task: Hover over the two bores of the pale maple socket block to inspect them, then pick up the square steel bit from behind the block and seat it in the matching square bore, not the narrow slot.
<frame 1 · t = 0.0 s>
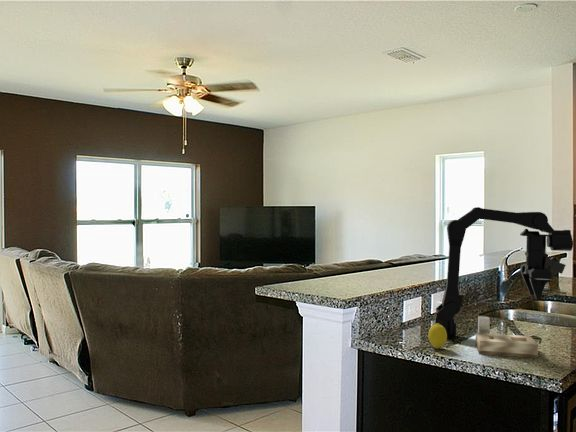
hand: (535, 297, 165), 15 cm above the table, fingers open, 9 cm apart
lemon: (437, 349, 155), on the table
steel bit: (483, 341, 164), on the table
socket block: (505, 351, 153), on the table
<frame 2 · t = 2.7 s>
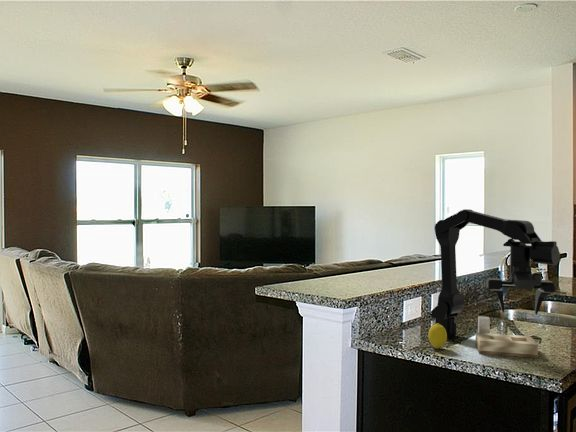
hand: (519, 313, 152), 12 cm above the table, fingers open, 9 cm apart
nothing on the table moved.
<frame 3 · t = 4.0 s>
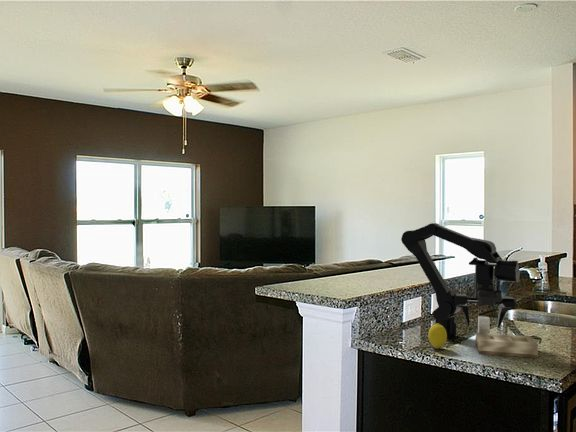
hand: (483, 326, 164), 5 cm above the table, fingers open, 9 cm apart
nothing on the table moved.
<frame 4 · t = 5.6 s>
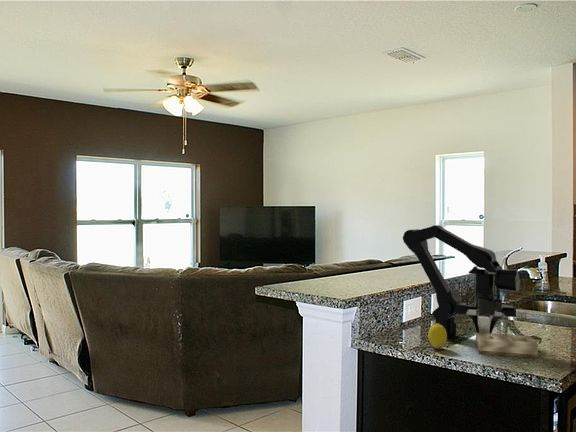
hand: (483, 335, 164), 2 cm above the table, fingers closed on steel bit, 3 cm apart
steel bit: (483, 341, 164), on the table, touching gripper
everything else where it was.
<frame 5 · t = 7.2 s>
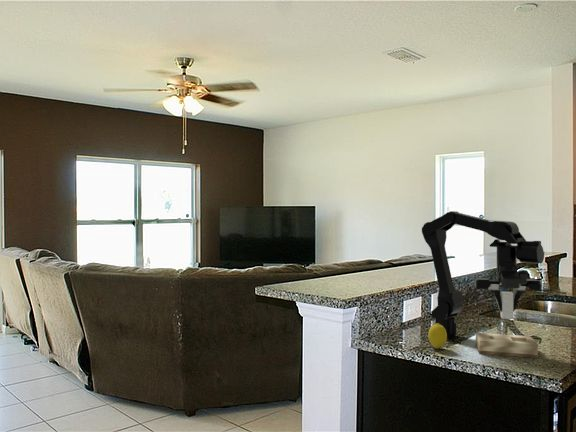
hand: (507, 311, 156), 12 cm above the table, fingers closed on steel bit, 3 cm apart
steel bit: (506, 318, 156), point 10 cm above the table, touching gripper
everything else where it was.
when the fingers open (5 cm above the table, at t = 9.3 s): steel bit drops 2 cm, resting on socket block.
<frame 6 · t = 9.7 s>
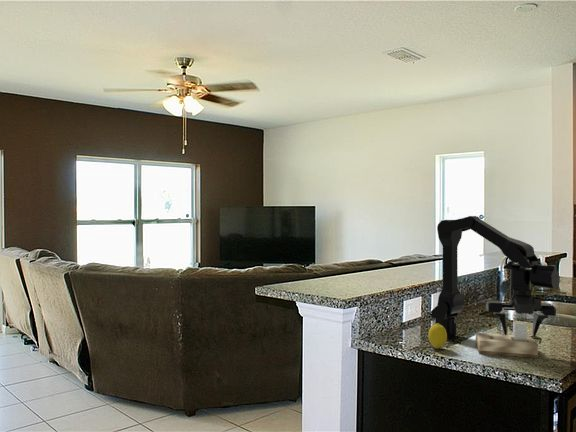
hand: (519, 336, 152), 5 cm above the table, fingers open, 8 cm apart
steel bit: (519, 349, 152), point 1 cm above the table, touching socket block
everything else where it was.
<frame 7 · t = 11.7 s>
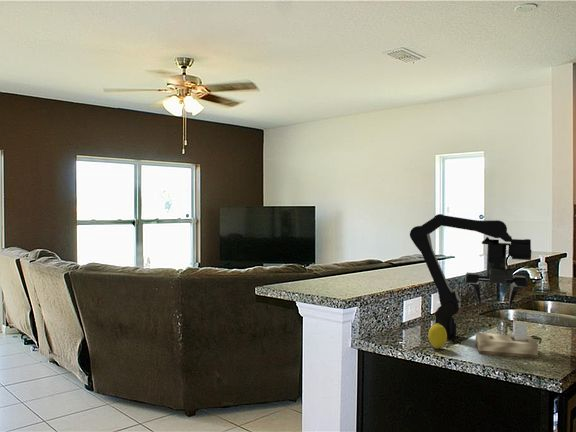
hand: (494, 305, 165), 12 cm above the table, fingers open, 9 cm apart
nothing on the table moved.
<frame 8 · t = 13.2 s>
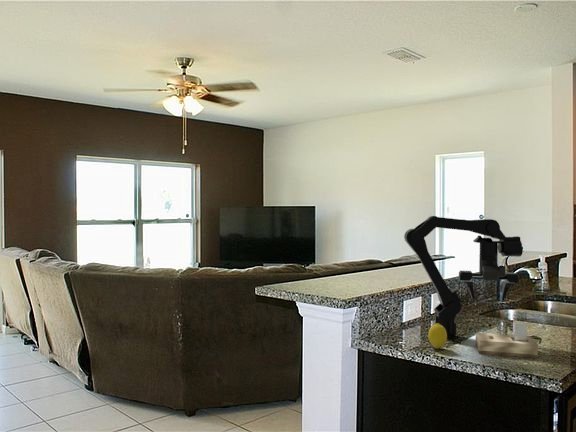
hand: (487, 301, 170), 12 cm above the table, fingers open, 9 cm apart
nothing on the table moved.
at the end: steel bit 0.1 cm from the target spot on the socket block, point 1.0 cm above the socket block's base; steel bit tilted 0°; the gripper is holding nothing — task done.
